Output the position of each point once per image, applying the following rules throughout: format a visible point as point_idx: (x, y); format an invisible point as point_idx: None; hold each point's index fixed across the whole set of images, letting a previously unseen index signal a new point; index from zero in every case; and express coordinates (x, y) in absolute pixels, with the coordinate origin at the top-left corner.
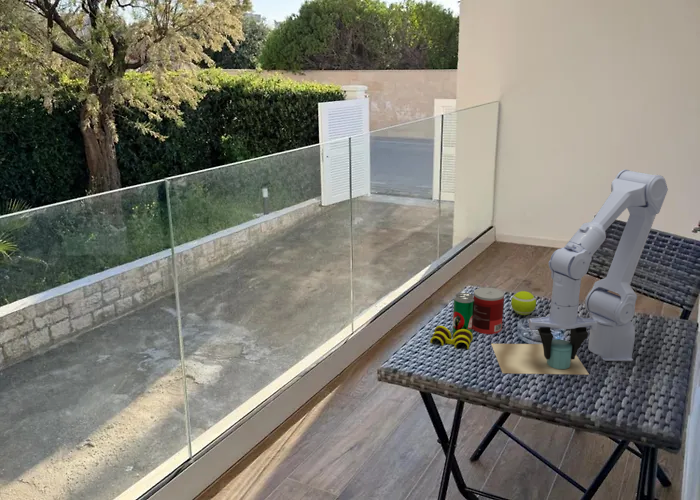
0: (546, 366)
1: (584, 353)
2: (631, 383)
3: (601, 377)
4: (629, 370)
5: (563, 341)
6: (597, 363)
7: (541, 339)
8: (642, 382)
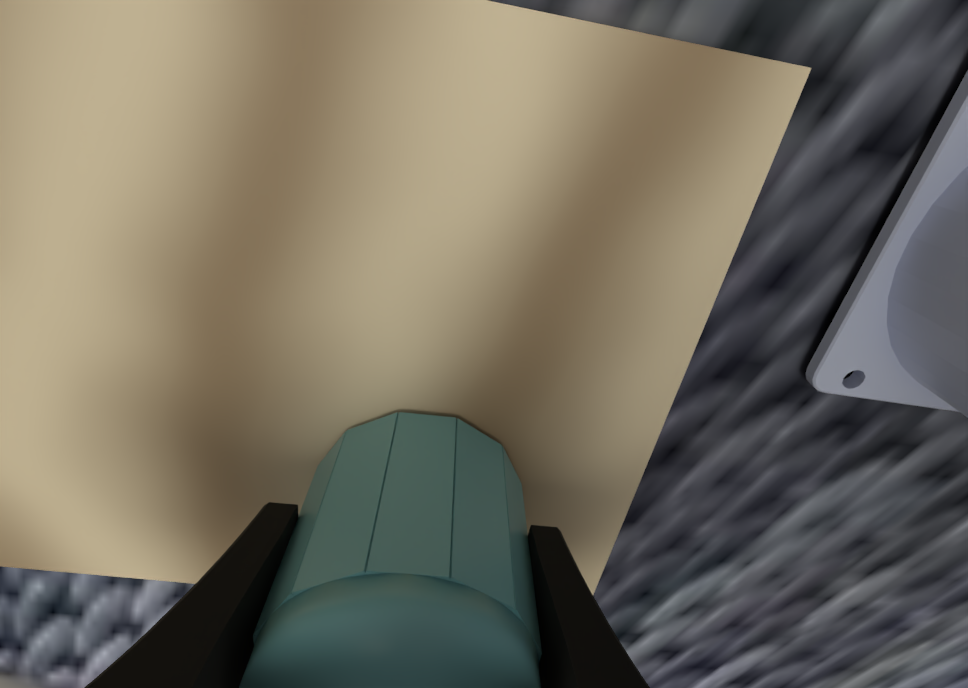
0: (299, 506)
1: (861, 209)
2: (804, 632)
3: (678, 570)
4: (948, 518)
5: (465, 674)
6: (812, 407)
7: (109, 680)
8: (877, 629)
